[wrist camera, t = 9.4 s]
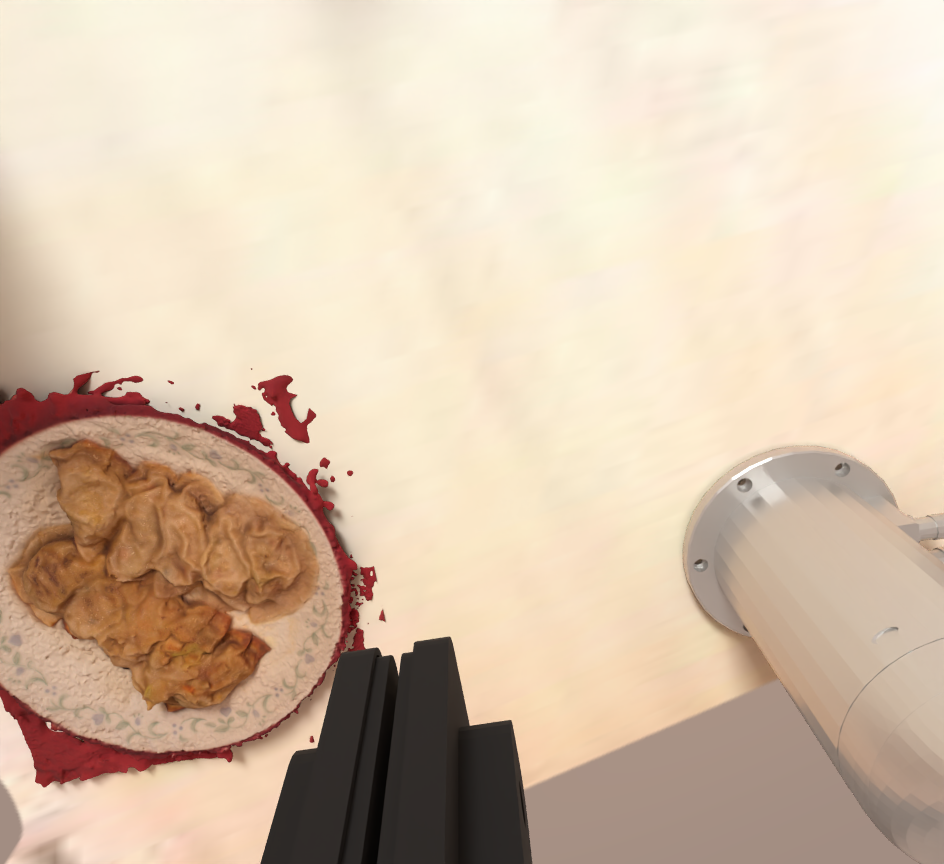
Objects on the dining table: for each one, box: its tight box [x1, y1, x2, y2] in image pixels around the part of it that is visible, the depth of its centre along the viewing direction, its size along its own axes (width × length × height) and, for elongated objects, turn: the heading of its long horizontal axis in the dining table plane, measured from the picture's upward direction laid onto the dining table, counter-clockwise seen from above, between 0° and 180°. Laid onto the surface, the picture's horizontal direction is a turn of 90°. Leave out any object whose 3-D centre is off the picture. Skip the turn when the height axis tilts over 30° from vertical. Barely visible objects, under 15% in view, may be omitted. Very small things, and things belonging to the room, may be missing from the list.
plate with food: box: [0, 368, 385, 788], centre depth 42 cm, size 25×26×4 cm
